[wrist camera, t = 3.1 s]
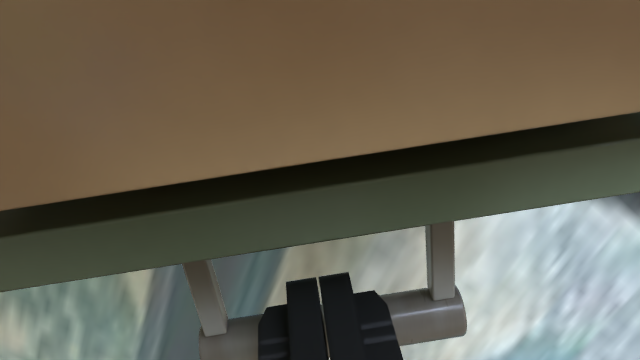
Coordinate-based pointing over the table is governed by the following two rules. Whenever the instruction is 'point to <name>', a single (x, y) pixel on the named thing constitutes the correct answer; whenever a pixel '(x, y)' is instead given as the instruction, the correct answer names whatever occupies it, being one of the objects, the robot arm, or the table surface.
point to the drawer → (322, 218)
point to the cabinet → (287, 83)
